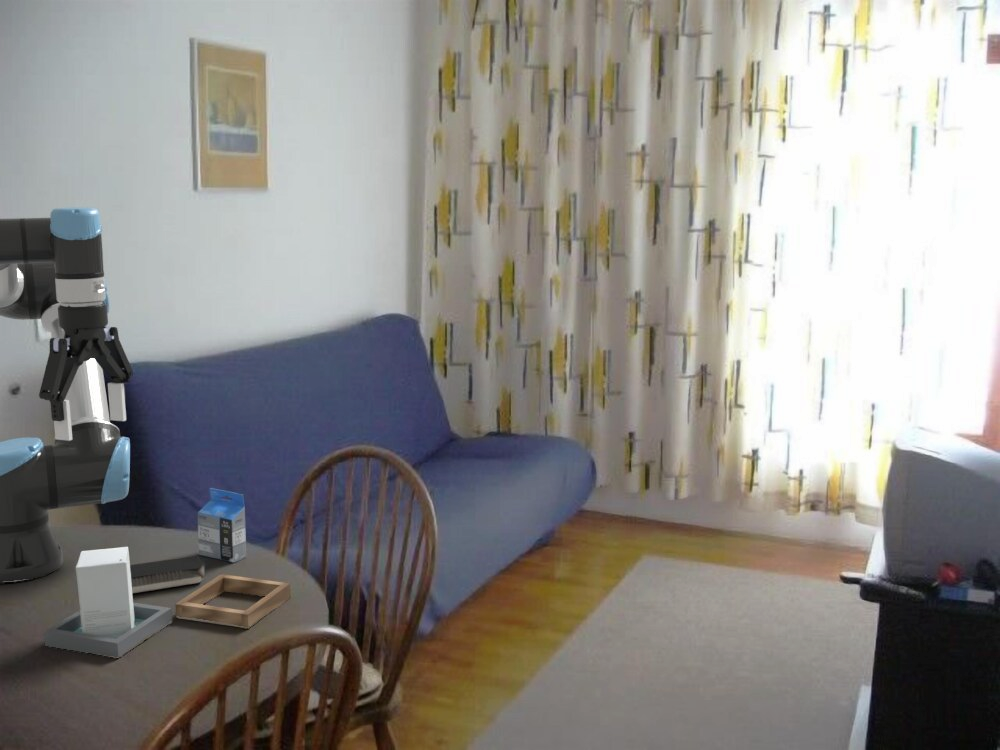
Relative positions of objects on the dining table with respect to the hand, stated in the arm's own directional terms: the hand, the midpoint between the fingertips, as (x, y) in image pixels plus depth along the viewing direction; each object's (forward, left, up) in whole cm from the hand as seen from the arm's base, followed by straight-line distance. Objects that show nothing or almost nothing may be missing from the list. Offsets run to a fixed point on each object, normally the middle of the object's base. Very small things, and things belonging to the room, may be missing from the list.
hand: (92, 429), depth 180 cm
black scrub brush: (+6, +6, -29) cm, 30 cm away
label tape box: (+10, +21, -29) cm, 37 cm away
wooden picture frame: (+25, +1, -29) cm, 38 cm away
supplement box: (+12, -14, -28) cm, 34 cm away
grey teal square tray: (+12, -14, -29) cm, 34 cm away
